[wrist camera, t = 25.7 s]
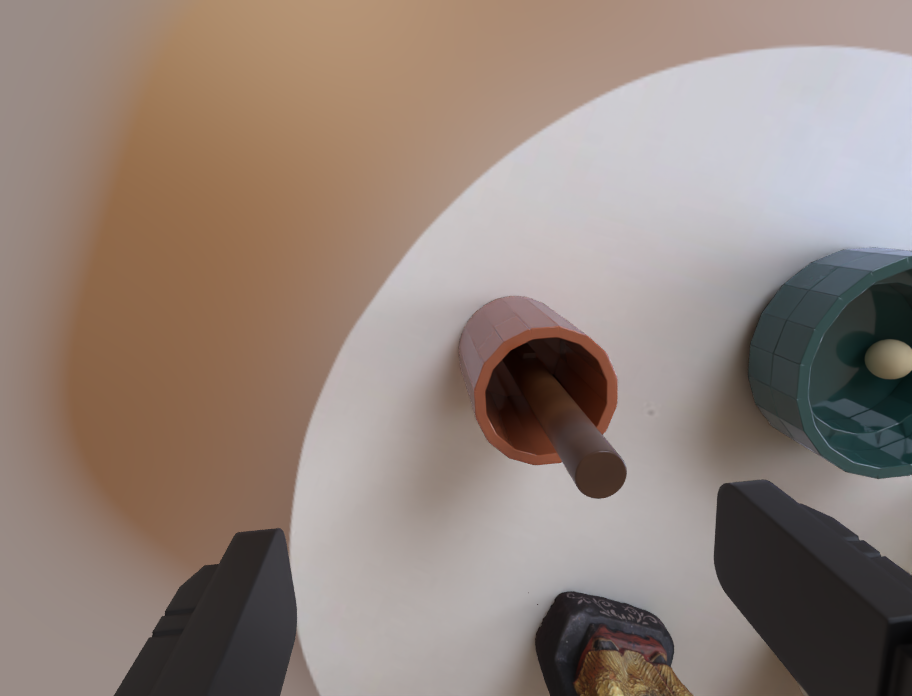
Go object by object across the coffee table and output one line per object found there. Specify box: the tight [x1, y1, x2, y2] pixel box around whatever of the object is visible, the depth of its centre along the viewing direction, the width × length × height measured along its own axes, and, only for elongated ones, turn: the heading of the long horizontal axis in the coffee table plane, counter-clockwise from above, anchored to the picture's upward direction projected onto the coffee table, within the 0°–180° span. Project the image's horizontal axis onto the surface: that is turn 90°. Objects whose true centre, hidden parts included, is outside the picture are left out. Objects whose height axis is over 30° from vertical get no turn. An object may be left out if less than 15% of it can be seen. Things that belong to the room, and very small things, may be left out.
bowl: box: [748, 247, 912, 479], centre depth 38 cm, size 15×15×6 cm
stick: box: [502, 342, 627, 499], centre depth 29 cm, size 3×2×18 cm
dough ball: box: [865, 339, 912, 379], centre depth 39 cm, size 3×3×3 cm
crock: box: [459, 296, 617, 465], centre depth 34 cm, size 8×8×10 cm
